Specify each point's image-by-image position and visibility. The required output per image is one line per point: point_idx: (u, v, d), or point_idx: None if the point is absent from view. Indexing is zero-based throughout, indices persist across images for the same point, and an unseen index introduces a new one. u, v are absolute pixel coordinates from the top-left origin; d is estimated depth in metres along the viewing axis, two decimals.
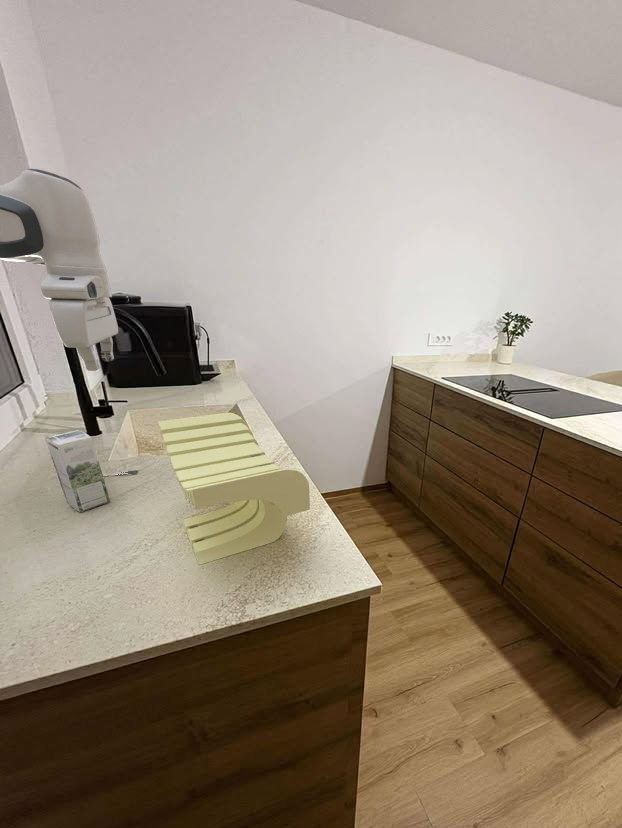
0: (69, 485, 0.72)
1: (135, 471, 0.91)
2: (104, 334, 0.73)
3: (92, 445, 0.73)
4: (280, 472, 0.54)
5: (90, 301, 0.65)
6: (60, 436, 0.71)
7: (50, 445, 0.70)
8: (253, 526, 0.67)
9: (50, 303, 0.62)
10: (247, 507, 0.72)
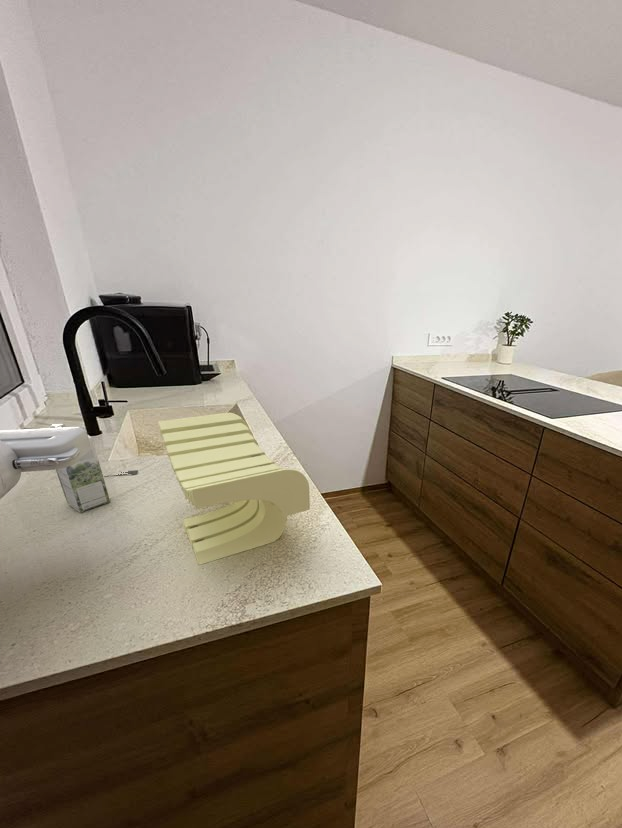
0: (69, 485, 0.72)
1: (135, 471, 0.91)
2: None
3: (92, 445, 0.73)
4: (280, 472, 0.54)
5: None
6: None
7: None
8: (253, 526, 0.67)
9: None
10: (247, 507, 0.72)
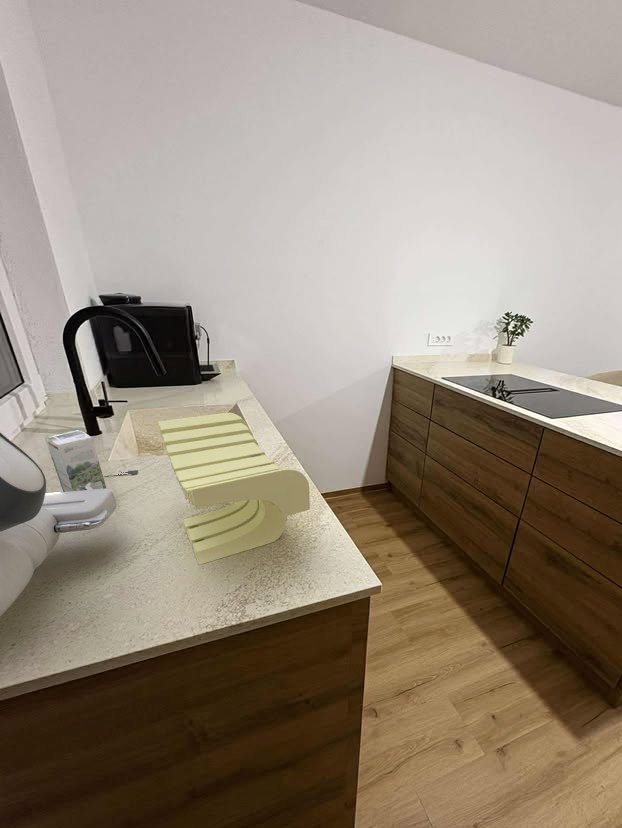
0: (69, 485, 0.72)
1: (135, 471, 0.91)
2: None
3: (92, 445, 0.73)
4: (280, 472, 0.54)
5: None
6: (60, 436, 0.71)
7: (50, 445, 0.70)
8: (253, 526, 0.67)
9: None
10: (247, 507, 0.72)
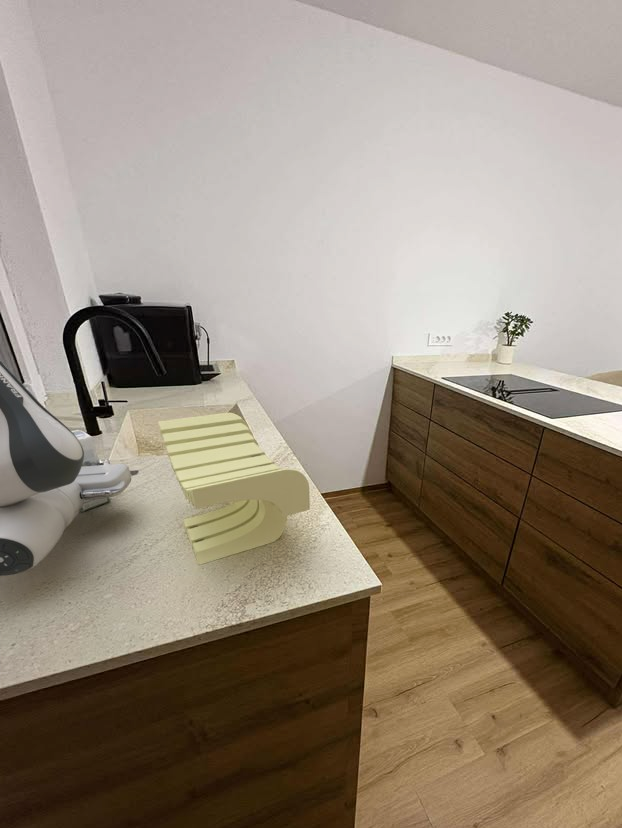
0: None
1: (135, 471, 0.91)
2: None
3: (92, 444, 0.73)
4: (280, 472, 0.54)
5: None
6: None
7: None
8: (253, 526, 0.67)
9: None
10: (247, 507, 0.72)
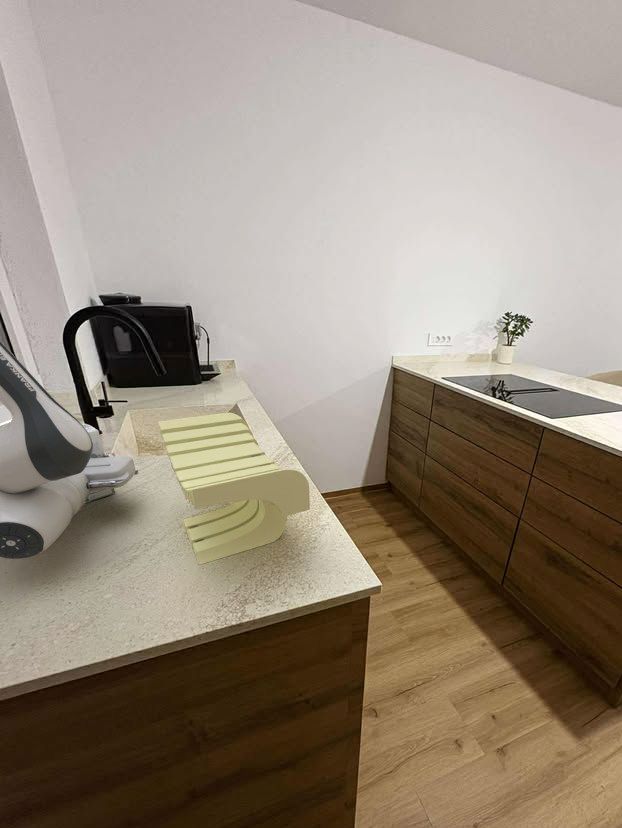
0: None
1: (135, 471, 0.91)
2: None
3: (98, 438, 0.76)
4: (280, 472, 0.54)
5: None
6: None
7: None
8: (253, 526, 0.67)
9: None
10: (247, 507, 0.72)
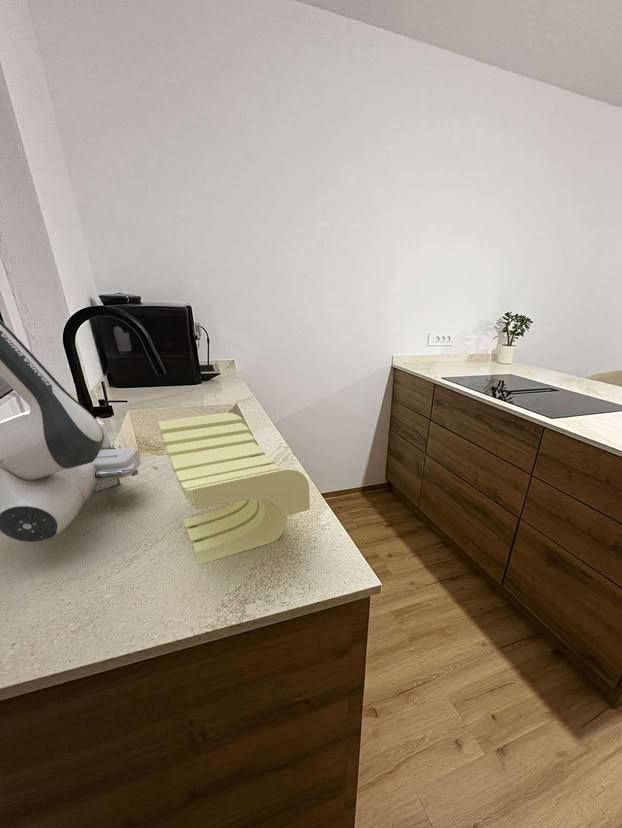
0: None
1: (135, 471, 0.91)
2: None
3: (105, 431, 0.79)
4: (280, 472, 0.54)
5: None
6: None
7: None
8: (253, 526, 0.67)
9: None
10: (247, 507, 0.72)
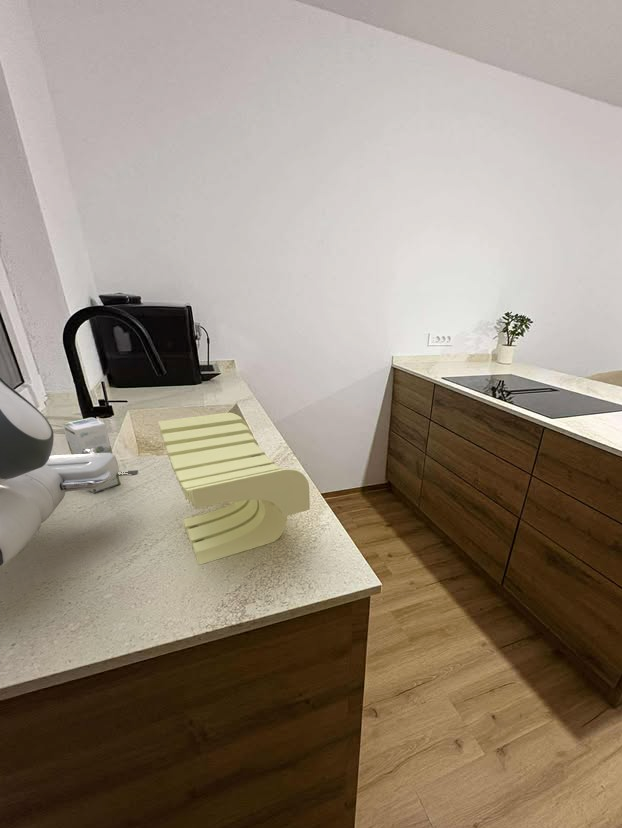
0: None
1: (135, 471, 0.91)
2: None
3: (105, 431, 0.79)
4: (280, 472, 0.54)
5: None
6: (76, 422, 0.78)
7: (67, 431, 0.77)
8: (253, 526, 0.67)
9: None
10: (247, 507, 0.72)
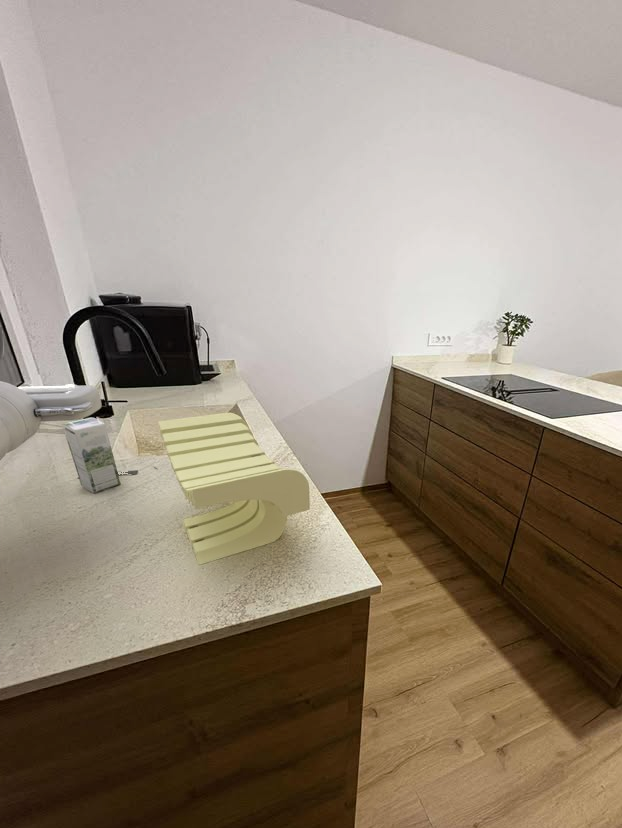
0: (84, 467, 0.79)
1: (135, 471, 0.91)
2: None
3: (105, 431, 0.79)
4: (280, 472, 0.54)
5: None
6: (76, 422, 0.78)
7: (67, 430, 0.77)
8: (253, 526, 0.67)
9: None
10: (247, 507, 0.72)
